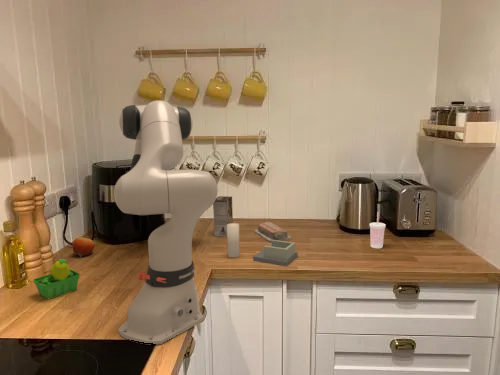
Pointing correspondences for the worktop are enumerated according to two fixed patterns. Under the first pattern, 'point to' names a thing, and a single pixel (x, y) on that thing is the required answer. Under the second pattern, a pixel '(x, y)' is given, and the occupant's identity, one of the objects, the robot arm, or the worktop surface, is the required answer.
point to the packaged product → (272, 232)
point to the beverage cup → (377, 233)
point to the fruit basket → (57, 280)
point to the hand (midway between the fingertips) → (204, 202)
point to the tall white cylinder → (233, 239)
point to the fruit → (83, 246)
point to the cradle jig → (277, 253)
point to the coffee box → (222, 215)
